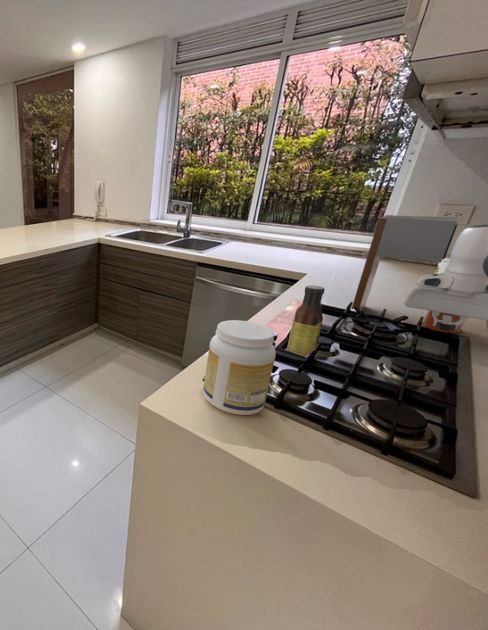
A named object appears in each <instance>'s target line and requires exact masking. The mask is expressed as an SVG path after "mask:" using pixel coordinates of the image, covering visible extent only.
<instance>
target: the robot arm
mask: <svg viewBox="0 0 488 630" xmlns="http://www.w3.org/2000/svg"><path fill="white" fill-rule="evenodd" d="M449 258H450V262H449V264H448V265H447V267H446V268H445V270H444V272H443V273H439V274H435V273H430V274H421V276H419V278H418V280H417V283H415V284H414V285H413V286H412V287H411V289H410V291H409V292H408V294H407V295H406V297H405V299H404V302H403V303H404V306H405V307H407V308H413V309H418V310H424V311H428V310H429V311H433V312H432V316H433V318H434V324H433V326H436V327H440V325H441V323H442V320H438V318H437V316H438V315H439V313H440V312H441V313H447V314H452V315H458V316H460V320H459V321H458V322H456V323H453V322H452V326H451V328H450V329H451V330H457V329H458V326H459V325H461V324H462V323H463V324H464V323H466V322H467V321H468V319H469V318H470V319H476V320H482V321H488V223H483V224H475V225H471V226H468V227H466V228H465V229H463V230H462V231H461V232H460V234H459V235H458V237H457V238H456V240H455V243H454V245H453V246H452V249H451V252H450V255H449Z"/></svg>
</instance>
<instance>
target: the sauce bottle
mask: <svg viewBox="0 0 488 630" xmlns="http://www.w3.org/2000/svg"><path fill="white" fill-rule="evenodd" d="M303 290H304V296H303V299H302V303H301V304H300V305H299V306H298V307H297V308H296V310H295V313H294V317H293V320H292V324H291V329H290V333H289V337H288V338H289V339H288V343H287V348H286V350H287V349H288V350H289V351H291V352H293V353H295V354H297V355H301V356H307V355H308V354H309V353H310V352H312V351H314V350H315V349H316V350H317V345H318V341H319V338H320V333H321V329H322V324H323V321H324V317H323V310H322V298H323V295H324V294H325V290H326V289H325V287H324V286H319V285H305V287H304V289H303ZM316 350H315V351H316Z"/></svg>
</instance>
